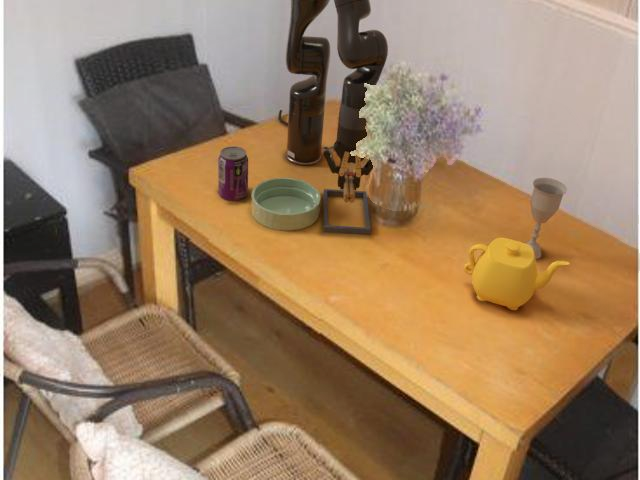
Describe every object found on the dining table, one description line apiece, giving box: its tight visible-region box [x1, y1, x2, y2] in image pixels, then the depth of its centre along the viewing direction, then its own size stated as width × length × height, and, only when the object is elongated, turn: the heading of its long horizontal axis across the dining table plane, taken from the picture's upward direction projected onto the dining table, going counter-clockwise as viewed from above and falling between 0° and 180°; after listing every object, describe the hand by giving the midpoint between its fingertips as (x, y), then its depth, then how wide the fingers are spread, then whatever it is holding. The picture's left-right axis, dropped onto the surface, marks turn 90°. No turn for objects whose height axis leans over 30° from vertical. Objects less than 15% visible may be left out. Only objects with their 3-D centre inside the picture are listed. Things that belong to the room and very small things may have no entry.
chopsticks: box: [343, 167, 356, 204], centre depth 171 cm, size 12×2×2 cm, turn 0°
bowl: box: [250, 177, 322, 231], centre depth 173 cm, size 16×16×5 cm
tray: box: [323, 188, 371, 236], centre depth 175 cm, size 17×11×2 cm, turn 1°
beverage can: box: [217, 145, 249, 202], centre depth 176 cm, size 7×7×12 cm
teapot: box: [463, 237, 570, 311], centre depth 152 cm, size 14×20×13 cm
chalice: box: [524, 177, 568, 260], centre depth 164 cm, size 7×7×18 cm
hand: (348, 187), depth 171 cm, fingers closed on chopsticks, 2 cm apart
